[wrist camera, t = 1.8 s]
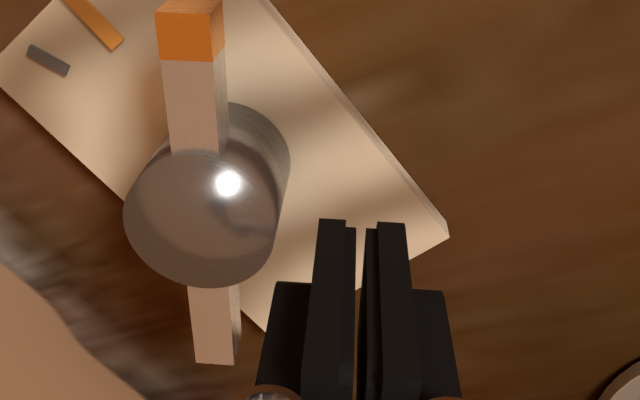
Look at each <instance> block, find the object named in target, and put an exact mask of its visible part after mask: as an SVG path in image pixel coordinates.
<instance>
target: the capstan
mask: <svg viewBox="0 0 640 400" xmlns="http://www.w3.org/2000/svg"><path fill="white" fill-rule="evenodd" d="M154 17H155V26H156V34H157V43H158V51H159V59H160V61H161V70H162V78H163V87H164V95H165V104H166V112H167V121H168V129H169V132H168V133H167V135H166V136H165V138H164V139H163V141H162V142H161V144H160V145H159V147H158V148H157V150H156V151H155V153H154V154H153V156H152V157H151V159H150V160H149V162H148V163H147V164H146V166H145V167H144V169H143V170H142V172H141V173H140V175H139V176H138V178H137V179H136V181H135V182H134V184H133V185H132V187H131V188H130V190H129V191H128V193H127V196H126V198H125V201H124V206H123V225H124V229H125V233H126V235H127V238H128V240H129V242H130V244H131V246H132V248H133V249H134V250H135V252H136V253H137V255H138V256H139V257H140V258H141V259H142V260H143V261H144V262H145V263H146V264H147V265H148V266H149V267H151V268H152V269H153V270H155V271H156V272H157V273H159V274H161V275H162V276H164V277H166V278H168V279H170V280H172V281H175V282H177V283H180V284H183V285H187V290H188V299H189V307H190V315H191V324H192V332H193V341H194V349H195V358H196V363H208V364H223V365H234V363H235V359H236V355H237V351H238V347H239V343H240V339H241V335H242V333H241V316H240V299H239V283H241V282H243V281H245V280H247V279H249V278H250V277H252V276H253V275H255V274H256V273H257V272H258V271H259V270H260V269H261V268H262V267H263V266H264V264H265V263H266V262H267V260H268V258H269V256H270V254H271V252H272V249H273V244H274V240H275V236H276V231H277V227H278V223H279V218H280V214H281V209H282V205H283V201H284V196H285V192H286V188H287V183H288V179H289V175H290V167H291V161H290V154H289V149H288V146H287V144H286V141H285V139H284V138H283V136H282V134H281V133H280V131H279V130H278V128H277V127H276V126H275V125H274V124H273V123H272V122H271V121H270V120H269V119H268V118H266V117H265V116H264V115H262V114H261V113H259V112H258V111H256V110H254V109H252V108H250V107H247V106H244V105H242V104H237V103H233V102H228V97H227V80H226V63H225V46H224V45H225V35H224V18H223V1H222V0H168V1H167V2H166V3H164V4H163V5H162V6H161V7H159V8H158V9H157V10H156V11H154Z"/></svg>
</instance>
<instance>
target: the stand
mask: <svg viewBox="0 0 640 400" xmlns="http://www.w3.org/2000/svg"><path fill="white" fill-rule="evenodd" d="M167 1H168V0H52V1H51V2H50V3H49V4H48V5H47V6H46V7H45V8H44V9H43V10H42V11H41V12H40V13H39V15H38V16H37V17H36V18H35V19H34V20H33V21H32V22H31V23H30V24H29V25H28V26H27V27H26V28H25V29H24V30H23V31H22V32H21V33H20V34H19V35H18V36H17V37H16V38H15V39H14V40H13V41H12V42H11V43H10V44H9V45H8V46H7V47H6V48H5V49H4V50H3V51H2V52H1V54H0V87H1V88H2V89H3V90H4V91H5V92H6V93H7V94H8V95H10V96H11V97H12V98H13V99H14V100H15V101H16V102H17V103H18V104H19V105H20V106H21V107H23V108H24V109H25V110H26V111H27V112H28V113H29V114H30V115H31V116H32V117H33V118H34V119H35V120H37V121H38V122H39V123H40V124H41V125H42V126H43V127H44V128H45V129H46V130H47V131H48V132H50V133H51V134H52V135H53V136H54V137H55V138H56V139H57V140H58V141H59V142H60V143H61V144H63V145H64V146H65V147H66V148H67V149H68V150H69V151H70V152H71V153H72V154H73V155H74V156H75V157H77V158H78V159H79V160H80V161H81V162H82V163H83V164H84V165H85V166H86V167H87V168H88V169H90V170H91V171H92V172H93V173H94V174H95V175H96V176H97V177H98V178H99V179H100V180H101V181H103V182H104V183H105V184H106V185H107V186H108V187H109V188H110V189H111V190H112V191H113V192H114V193H115V194H117V195H118V196H119V197H120V198H121V199H122V200H123V201H125V198H126V196H127V193H128V191H129V190H130V188H131V187H132V185H133V184H134V182H135V181H136V179H137V178H138V176H139V175H140V173H141V172H142V170H143V169H144V167H145V166H146V164H147V163H148V162H149V160H150V159H151V157H152V156H153V154H154V153H155V151H156V150H157V148H158V147H159V145H160V144H161V142H162V141H163V139H164V138H165V136H166V135H167V133H168V132H169V129H168V121H167V112H166V104H165V95H164V87H163V78H162V70H161V61H160V59H159V51H158V43H157V34H156V26H155V17H154V11H156V10H157V9H158V8H159V7H161V6H162V5H163V4H164V3H166V2H167ZM222 1H223V18H224V35H225V45H224V46H225V63H226V80H227V97H228V102H233V103H237V104H242V105H244V106H247V107H250V108H252V109H254V110H256V111H258V112H259V113H261V114H262V115H264V116H265V117H266V118H268V119H269V120H270V121H271V122H272V123H273V124H274V125H275V126H276V127H277V128H278V130H279V131H280V133H281V134H282V136H283V138H284V139H285V141H286V144H287V146H288V149H289V154H290V161H291V167H290V175H289V179H288V183H287V188H286V192H285V196H284V201H283V205H282V209H281V214H280V218H279V223H278V227H277V231H276V236H275V240H274V244H273V249H272V252H271V254H270V256H269V258H268V260H267V262H266V263H265V264H264V266H263V267H262V268H261V269H260V270H259V271H258V272H257V273H256V274H255V275H253V276H252V277H250V278H249V279H247V280H245V281H243V282H241V283H239V299H240V309H241V310H242V311H243V312H244V313H245V314H246V315H247V316H248V317H250V318H251V319H252V320H253V321H254V322H255V323H256V324H257V325H258V326H259V327H260V328H261V329H263V330H264V331H265V332H266V328H267V323H268V318H269V312H270V307H271V302H272V297H273V292H274V288H275V284H276V282H277V281H287V282H304V283H311V282H312V274H313V265H314V257H315V248H316V240H317V232H318V223H319V218H326V219H344V220H346V227H356V282H355V290H357V289H359V288H360V287H361V284H362V271H363V259H364V246H365V234H366V228H375V229H376V225H377V221H379V222H397V223H405V227H406V236H407V246H408V255H409V260H410V259H412V258H414V257H416V256H418V255H419V254H421V253H423V252H425V251H426V250H428V249H430V248H432V247H434V246H435V245H437V244H439V243H441V242H443V241H444V240H446V239H448V238H450V237H449V233H448V228H447V223H446V220H445V219H444V218H443V217H442V215H441V214H440V213H439V212H438V210H437V209H436V208H435V207H434V206H433V204H432V203H431V202H430V201H429V199H428V198H427V197H426V196H425V194H424V193H423V192H422V191H421V189H420V188H419V187H418V186H417V184H416V183H415V182H414V181H413V179H412V178H411V177H410V176H409V174H408V173H407V172H406V171H405V169H404V168H403V167H402V166H401V164H400V163H399V162H398V161H397V159H396V158H395V157H394V156H393V154H392V153H391V152H390V151H389V149H388V148H387V147H386V146H385V144H384V143H383V142H382V141H381V139H380V138H379V137H378V136H377V134H376V133H375V132H374V131H373V129H372V128H371V127H370V126H369V124H368V123H367V122H366V121H365V119H364V118H363V117H362V116H361V114H360V113H359V112H358V111H357V109H356V108H355V107H354V106H353V104H352V103H351V102H350V101H349V99H348V98H347V97H346V96H345V94H344V93H343V92H342V91H341V89H340V88H339V87H338V86H337V84H336V83H335V82H334V81H333V79H332V78H331V77H330V76H329V74H328V73H327V72H326V71H325V70H324V68H323V67H322V66H321V65H320V63H319V62H318V61H317V60H316V58H315V57H314V56H313V55H312V53H311V52H310V51H309V50H308V48H307V47H306V46H305V45H304V43H303V42H302V41H301V40H300V38H299V37H298V36H297V35H296V33H295V32H294V31H293V30H292V28H291V27H290V26H289V25H288V23H287V22H286V21H285V20H284V18H283V17H282V16H281V15H280V13H279V12H278V11H277V10H276V8H275V7H274V6H273V5H272V3H271V2H270V1H269V0H222Z"/></svg>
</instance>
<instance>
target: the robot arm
mask: <svg viewBox="0 0 640 400" xmlns="http://www.w3.org/2000/svg"><path fill="white" fill-rule="evenodd" d="M355 282H356V227H346V220H344V219H326V218H319V223H318V232H317V240H316V248H315V257H314V265H313V274H312V282H311V283H304V282H287V281H277V282H276V284H275V288H274V292H273V297H272V302H271V307H270V312H269V318H268V323H267V328H266V333H265V338H264V343H263V348H262V353H261V358H260V363H259V368H258V373H257V378H256V383H255V386H252V387H248V388H246V389H244V390H242V391H240V392H237V393H236V394H235V395H233V396H232V397H231V398H230V399H229V400H352V391H353V374H354V334H355ZM356 400H464V399H462V396H461V390H460V384H459V379H458V373H457V367H456V362H455V356H454V350H453V344H452V339H451V333H450V327H449V322H448V316H447V310H446V304H445V299H444V295H443V292H442V291H436V290H419V289H412V283H411V274H410V264H409V255H408V246H407V236H406V227H405V223H397V222H379V221H377V225H376V229H375V228H366V234H365V246H364V259H363V271H362V284H361V296H360V309H359V321H358V336H357V394H356ZM599 400H640V361H639V362H637V363H635V364H633V365H632V366H631V367H629V368H628V369H626V370H625V371H624V372H622V373H621V374H620V375H618V376H617V377H616V378H615V379H614V380H613V381H612V382H611V383H610V385H609V386H608V387H607V388H606V389H605V390H604V392H603V393H602V395H601V396H600V398H599Z"/></svg>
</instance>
